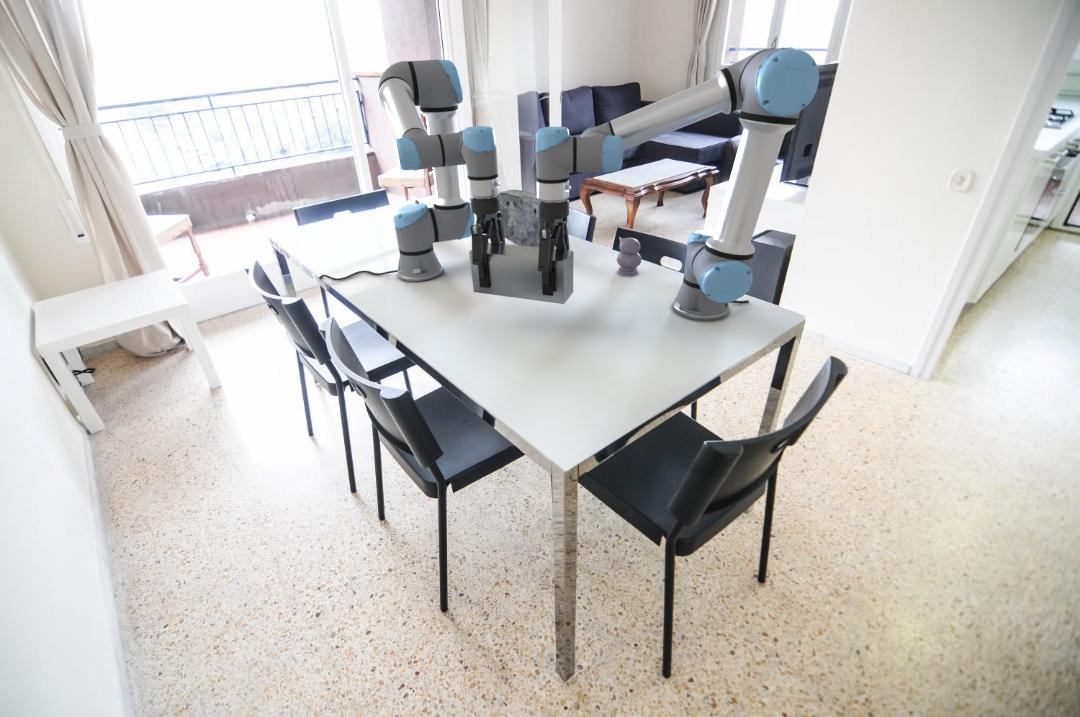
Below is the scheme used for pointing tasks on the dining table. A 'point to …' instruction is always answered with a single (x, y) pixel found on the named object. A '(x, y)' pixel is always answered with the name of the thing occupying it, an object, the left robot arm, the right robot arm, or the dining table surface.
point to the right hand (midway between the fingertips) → (555, 286)
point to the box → (524, 273)
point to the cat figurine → (628, 256)
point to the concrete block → (521, 217)
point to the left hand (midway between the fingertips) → (492, 280)
